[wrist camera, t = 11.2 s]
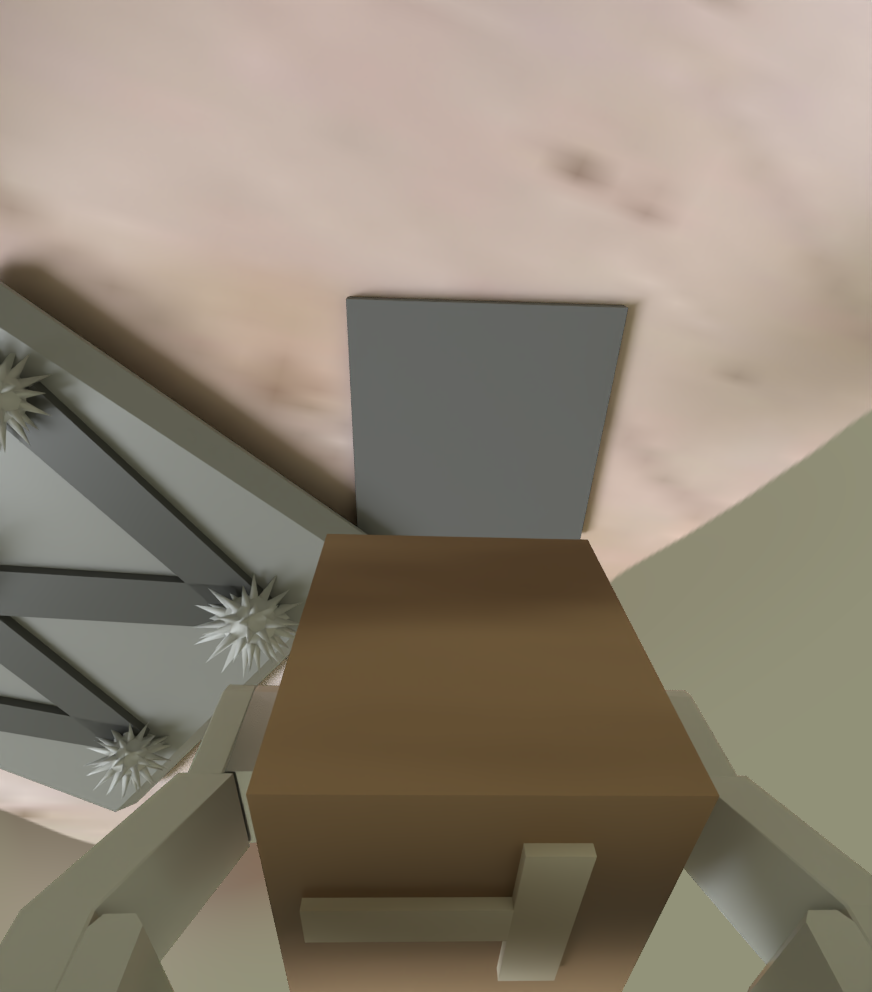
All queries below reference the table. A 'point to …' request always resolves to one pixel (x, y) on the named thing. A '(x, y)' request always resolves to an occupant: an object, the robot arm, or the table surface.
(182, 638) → the grey spiky constellation board
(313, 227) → the table surface
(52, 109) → the table surface
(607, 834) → the letter cube
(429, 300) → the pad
